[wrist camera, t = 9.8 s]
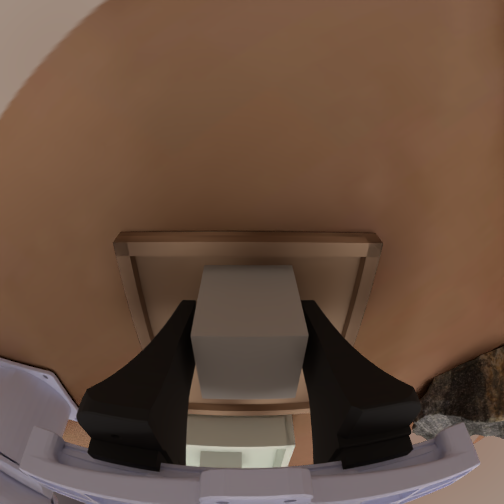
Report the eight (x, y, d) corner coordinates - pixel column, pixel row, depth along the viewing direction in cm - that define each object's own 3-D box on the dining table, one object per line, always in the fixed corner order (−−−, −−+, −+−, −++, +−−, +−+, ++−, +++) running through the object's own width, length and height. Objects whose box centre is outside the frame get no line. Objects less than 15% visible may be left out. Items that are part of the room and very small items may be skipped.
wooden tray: (167, 401, 20) (165, 411, 19) (120, 232, 13) (112, 242, 12) (326, 400, 21) (328, 411, 20) (375, 233, 14) (383, 243, 13)
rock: (530, 325, 19) (571, 395, 10) (502, 395, 23) (523, 459, 14) (408, 354, 23) (426, 448, 14) (397, 420, 27) (402, 495, 18)
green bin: (173, 463, 28) (171, 485, 25) (141, 407, 21) (134, 438, 18) (276, 467, 28) (278, 488, 26) (291, 412, 21) (295, 445, 19)
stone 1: (204, 463, 26) (202, 498, 22) (200, 450, 24) (197, 490, 20) (241, 464, 26) (242, 500, 23) (241, 452, 25) (241, 492, 21)
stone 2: (210, 328, 16) (202, 398, 12) (204, 264, 14) (190, 335, 10) (284, 328, 16) (295, 397, 12) (292, 265, 14) (308, 335, 10)
